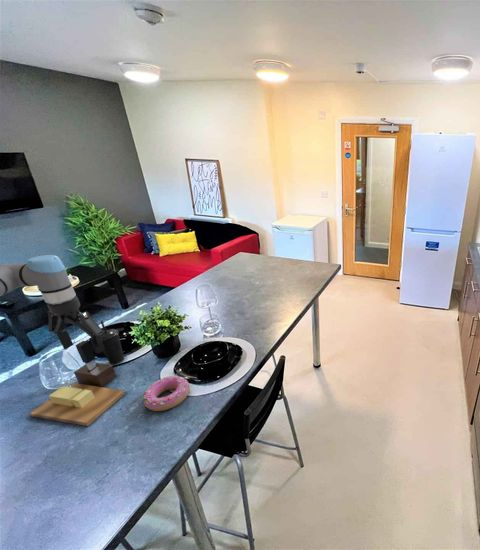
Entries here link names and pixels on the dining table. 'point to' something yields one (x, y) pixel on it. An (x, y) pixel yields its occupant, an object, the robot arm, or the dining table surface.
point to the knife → (86, 355)
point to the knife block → (95, 375)
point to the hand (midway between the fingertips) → (84, 348)
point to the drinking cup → (112, 345)
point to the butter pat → (83, 398)
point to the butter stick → (64, 395)
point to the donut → (168, 401)
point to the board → (80, 415)
